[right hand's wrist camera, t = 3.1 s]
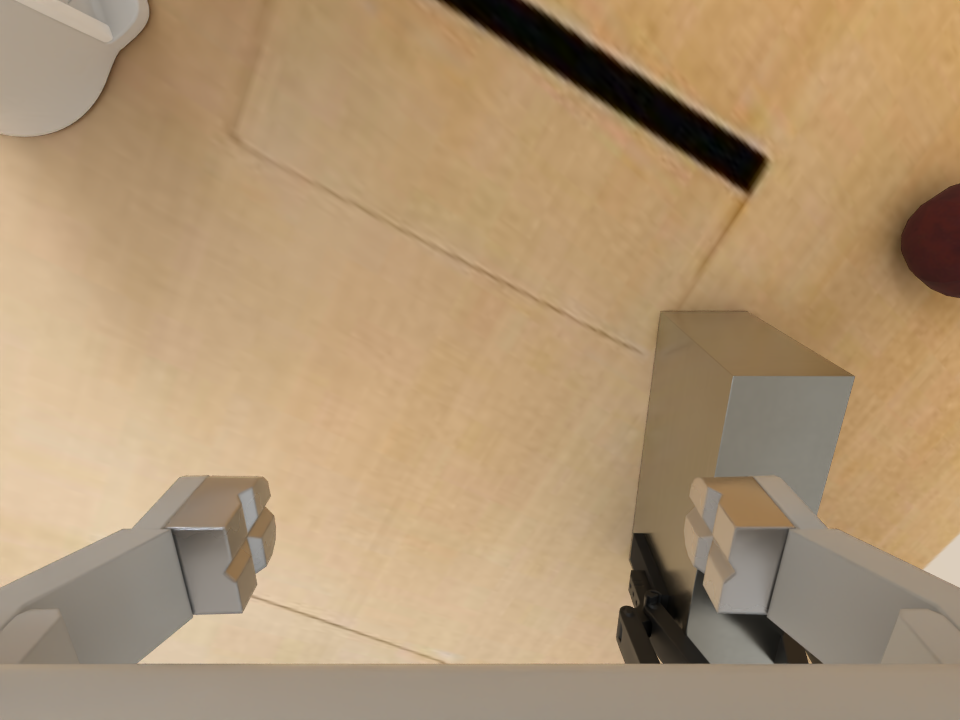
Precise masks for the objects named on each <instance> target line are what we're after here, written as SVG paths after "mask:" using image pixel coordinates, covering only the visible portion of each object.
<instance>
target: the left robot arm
mask: <svg viewBox="0 0 960 720" xmlns="http://www.w3.org/2000/svg"><path fill="white" fill-rule="evenodd" d="M630 562H631V565H632V567H633V570H631V575H630V582H629V593H630V595H631V599H632V602H633V605H634V608H633V607H631V606H623V607H621V608H620V611H619V618H618V626H617V634H616V640H617V643H618V645H619V648H620V651H621V653H622V656H623V659H624V661H625V664H660V662H659V660H658V657H659V659H660V660H661V662H662V663H663V664H710V663H709V661H708V660H707V659H706V658H705V657H704V655H703V654H702V653H701V652H700V650H699V649H698V648H697V647H696V646H695V644H694V643H693V642H692V641H691V640H690V638H689V637H688V636H685V635H684V633H683V630H682V629H681V627H680V626H679V625H678V624H677V623H676V621H675V620H674V619H673V618H672V616H671V615H670V614H669V613H668V612H667V604H668V598H669V595H668V592H667V590H666V588H665V585H664V583H663V580H662V578H661V576H660V573H659V571H658V569H657V566H656V564H655V562H654V559H653V557H652V554H651V552H650V550H649V547H648V545H647V543H646V540H645V538H644V535H643V533H633V539H632V546H631V554H630ZM805 651H806V652H805ZM806 653H807V655H808V656H809V658H810V660H811V662H812V664H823V663H822V662H821V661H820V660H819V659H817V658H816V657H815V656H814V655H812V654H811V653H810V652H809V651H808V650H806V649H805V648H804V647H803V646H801V645H800V644H799V643H798V642H797V641H795V640H794V639H793V638H792V637H791V636H789V635H788V634H787V633H786V632H784V635H783V636H781V639H780V642H779V646H778V650H777V653H776V657H775V660H774V664H809V663H808V660H807V656H806ZM657 656H658V657H657Z"/></svg>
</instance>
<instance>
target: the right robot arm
mask: <svg viewBox="0 0 960 720" xmlns="http://www.w3.org/2000/svg"><path fill="white" fill-rule="evenodd" d="M148 19H149V5H148V1H147V0H0V134H3V135H9V136H18V137H31V136H41V135H45V134H50V133H53V132H56V131H59V130H61V129H63V128H65V127H67V126H69V125H71V124H72V123H74V122H75V121H77V120H78V119H79V118H81V117H82V116H83V115H84V114H85V113H86V112H87V111H88V110H89V109H90V108H91V107H92V105H93V104H94V103H95V101H96V100H97V98H98V97H99V95H100V93H101V92H102V90H103V88H104V86H105V83H106V81H107V78H108V75H109V73H110V70H111V67H112V65H113V62H114V60H115V58H116V56H117V54H118V53H119V51H120V50H121V49H122V48H124V47H125V46H126V45H127V44H128V43H129V42H131V41H132V40H133V39H134V38H135V37H136V36H137V35H138V34H139V33H140V32H141V31H142V30H143V28H144V27H145V25H146V24H147V21H148ZM270 497H271V494H270V490H269V485H268V481H267V480H266V479H265V478H264V477H253V476H209V475H202V476H183V477H179V478H178V479H177V481H176V482H175V483H174V484H173V485H172V486H171V487H170V488H169V489H168V490H167V491H166V492H165V493H164V495H163V496H162V497H161V498H160V499H159V500H158V501H157V502H156V503H155V504H154V505H153V506H152V507H151V509H150V510H149V511H148V512H147V513H146V514H145V515H144V516H143V517H142V518H141V519H140V520H139V521H138V523H137V524H136V525H135V526H134V527H133V528H132V529H122V530H120V531H117V532H115V533H113V534H111V535H109V536H107V537H105V538H103V539H101V540H99V541H97V542H95V543H92V544H90V545H88V546H86V547H84V548H82V549H80V550H78V551H76V552H74V553H72V554H70V555H67V556H65V557H63V558H61V559H59V560H57V561H55V562H53V563H51V564H49V565H47V566H45V567H43V568H40V569H38V570H36V571H34V572H32V573H30V574H28V575H26V576H24V577H22V578H20V579H18V580H15V581H13V582H11V583H9V584H7V585H5V586H3V587H1V588H0V720H960V588H959V587H957V586H955V585H953V584H951V583H948V582H946V581H944V580H942V579H940V578H938V577H936V576H934V575H932V574H930V573H928V572H926V571H924V570H921V569H919V568H917V567H915V566H913V565H911V564H909V563H907V562H905V561H903V560H901V559H899V558H897V557H894V556H892V555H890V554H888V553H886V552H884V551H882V550H880V549H878V548H876V547H874V546H872V545H870V544H867V543H865V542H863V541H861V540H859V539H857V538H855V537H853V536H851V535H849V534H847V533H845V532H843V531H840V530H838V529H828V528H827V527H826V526H825V525H824V524H823V523H822V521H821V520H820V519H819V518H818V517H817V516H816V515H815V514H814V513H813V512H812V511H811V510H810V508H809V507H808V506H807V505H806V504H805V503H804V502H803V501H802V500H801V499H800V498H799V497H798V496H797V494H796V493H795V492H794V491H793V490H792V489H791V488H790V487H789V486H788V485H787V484H786V483H785V482H784V480H783V479H782V478H780V477H778V476H775V475H765V476H746V477H696V478H694V480H693V482H692V484H691V489H690V494H689V497H690V498H691V500H692V502H693V503H694V505H695V507H694V508H693V509H692V510H691V511H690V512H689V513H688V514H687V515H686V519H685V526H684V537H685V546H686V549H687V553H688V556H689V558H690V560H691V562H692V564H693V566H694V567H695V568H697V569H698V570H700V571H701V572H703V573H704V574H705V575H704V580H703V586H704V588H705V590H706V592H707V594H708V595H709V597H710V599H711V601H712V603H713V605H714V607H715V609H716V611H717V613H722V614H758V615H767V618H769V619H770V620H771V621H772V622H773V623H775V624H776V625H777V626H778V627H780V628H781V629H782V630H783V631H784V632H786V633H787V634H788V635H789V636H791V637H792V638H793V639H794V640H795V641H797V642H798V643H799V644H800V645H801V646H803V647H804V648H805V649H806V650H808V651H809V652H810V653H811V654H812V655H814V656H815V657H816V658H817V659H819V660H820V661H821V662H822V663H823V664H137V663H138V662H139V661H140V660H142V659H143V658H144V657H145V656H147V655H148V654H149V653H150V652H151V651H153V650H154V649H155V648H156V647H158V646H159V645H160V644H161V643H162V642H164V641H165V640H166V639H167V638H168V637H170V636H171V635H172V634H173V633H175V632H176V631H177V630H178V629H179V628H181V627H182V626H183V625H184V624H186V623H187V622H188V621H189V620H190V619H192V618H193V615H202V614H236V613H243V611H244V609H245V607H246V605H247V603H248V601H249V599H250V597H251V596H252V594H253V592H254V590H255V588H256V586H257V580H256V575H255V574H256V573H258V572H259V571H260V570H262V569H263V568H265V567H266V566H267V564H268V562H269V560H270V558H271V556H272V553H273V549H274V544H275V540H276V525H275V518H274V515H273V514H272V513H271V512H270V511H269V510H268V509H267V508H266V507H265V505H266V503H267V502H268V500H269V498H270Z"/></svg>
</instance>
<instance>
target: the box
mask: <svg viewBox="0 0 960 720" xmlns="http://www.w3.org/2000/svg"><path fill="white" fill-rule="evenodd" d="M854 378H855V376H854V375H852V374H850V373H849V372H847V371H845V370H844V369H842V368H840V367H839V366H837V365H835V364H834V363H832V362H830V361H829V360H827V359H825V358H824V357H822V356H820V355H819V354H817V353H815V352H814V351H812V350H811V349H809V348H807V347H806V346H804V345H802V344H801V343H799V342H797V341H796V340H794V339H792V338H791V337H789V336H787V335H786V334H784V333H782V332H781V331H779V330H777V329H776V328H774V327H772V326H771V325H769V324H768V323H766V322H764V321H763V320H761V319H759V318H758V317H756V316H754V315H753V314H751V313H749V312H748V311H661V312H660V320H659V328H658V335H657V343H656V351H655V359H654V367H653V375H652V382H651V390H650V398H649V406H648V414H647V422H646V430H645V437H644V445H643V453H642V461H641V469H640V477H639V485H638V492H637V500H636V508H635V516H634V524H633V532H632V539H633V533H643V535H644V538H645V540H646V543H647V545H648V547H649V550H650V552H651V554H652V557H653V559H654V562H655V564H656V566H657V569H658V571H659V573H660V576H661V578H662V580H663V583H664V585H665V588H666V590H667V592H668V595H669V598H668V604H667V612H668V613H669V614H670V615H671V616H672V618H673V619H674V620H675V621H676V623H677V624H678V625H679V626H680V627H681V629H682V630H683V633H684V635H685V636H688V637H689V638H690V640H691V641H692V642H693V643H694V644H695V646H696V647H697V648H698V649H699V650H700V652H701V653H702V654H703V655H704V657H705V658H706V659H707V660H708V661H709V663H710V664H774V660H775V657H776V653H777V650H778V646H779V642H780V639H781V636H783V635H784V631H783V630H782V629H781V628H780V627H778V626H777V625H776V624H775V623H773V622H772V621H771V620H770V619H769V618H767V615H758V614H722V613H717V611H716V609H715V607H714V605H713V603H712V601H711V599H710V597H709V595H708V594H707V592H706V590H705V588H704V586H703V580H704V575H705V574H704V573H703V572H701V571H700V570H698V569H697V568H695V567H694V566H693V564H692V562H691V560H690V558H689V556H688V553H687V549H686V546H685V537H684V526H685V519H686V515H687V514H688V513H689V512H690V511H691V510H692V509H693V508H694V507H695V505H694V503H693V502H692V500H691V498H690V497H689V494H690V489H691V484H692V482H693V480H694V478H696V477H746V476H765V475H775V476H778V477H780V478H782V479H783V480H784V482H785V483H786V484H787V485H788V486H789V487H790V488H791V489H792V490H793V491H794V492H795V493H796V494H797V496H798V497H799V498H800V499H801V500H802V501H803V502H804V503H805V504H806V505H807V506H808V507H809V508H810V510H811V511H812V512H813V513H814V514H815V515H816V516H817V512H818V509H819V505H820V502H821V498H822V494H823V491H824V487H825V483H826V480H827V476H828V473H829V469H830V465H831V462H832V458H833V454H834V451H835V447H836V444H837V440H838V436H839V433H840V429H841V425H842V422H843V418H844V415H845V411H846V407H847V404H848V400H849V396H850V393H851V389H852V386H853V382H854ZM632 539H631V546H632ZM630 554H631V547H630ZM629 561H630V555H629ZM630 564H631V562H630ZM631 567H632V565H631ZM632 570H633V567H632Z"/></svg>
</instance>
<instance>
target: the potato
mask: <svg viewBox="0 0 960 720" xmlns="http://www.w3.org/2000/svg"><path fill="white" fill-rule="evenodd" d="M901 251H902V254H903V256H904V258H905V260H906V263H907V265H908V267H909V269H910V270H911V271H912V272H913V274H914V275H915V276H916V277H918V278H919V279H920V280H921V281H922V282H924V283H925V284H926V285H927V286H928V287H929V288H931V289H933V290H935V291H937V292H940V293H942V294H944V295H946V296H952V297H957V298H960V184H957V185H954V186H950V187H949V188H947V189H946V190H944V191H942V192H941V193H939V194H938V195H936V196H935V197H933V198H932V199H930V200H929V201H927V202H926V203H924V204H923V205H921V206H920V207H919V208H918V209H917V211H916V212H915V213H914V214H913V215H912V216H911V217H910V219H909V220H908V222H907V224H906V226H905V229H904V231H903V233H902V238H901Z"/></svg>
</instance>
